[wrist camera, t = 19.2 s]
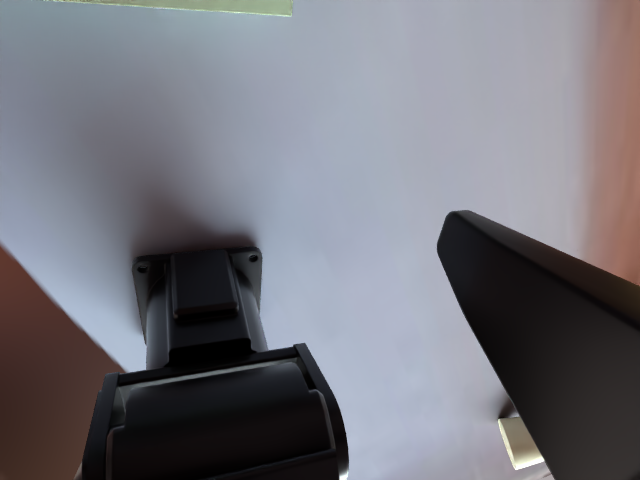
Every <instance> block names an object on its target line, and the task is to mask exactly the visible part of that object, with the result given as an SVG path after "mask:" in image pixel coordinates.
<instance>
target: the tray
mask: <svg viewBox="0 0 640 480" xmlns="http://www.w3.org/2000/svg"><path fill="white" fill-rule="evenodd" d="M45 1H60V2H76V3H91V4H107V5H122V6H138V7H153V8H168V9H184V10H199V11H215V12H230V13H245V14H261V15H276V16H292V5H293V0H45Z"/></svg>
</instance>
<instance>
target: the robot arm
mask: <svg viewBox="0 0 640 480" xmlns="http://www.w3.org/2000/svg"><path fill="white" fill-rule="evenodd" d="M437 253H438V256H439V258H440V261H441V263H442V265H443V268H444V270H445V272H446V275H447V277H448V279H449V282H450V284H451V287H452V289H453V291H454V294H455V296H456V298H457V301H458V303H459V305H460V308H461V310H462V312H463V314H464V316H465V318H466V320H467V322H468V324H469V325H470V327H471V329H472V331H473V333H474V335H475V336H476V338H477V340H478V342H479V344H480V345H481V347H482V349H483V351H484V353H485V354H486V356H487V358H488V360H489V362H490V363H491V365H492V367H493V369H494V371H495V372H496V374H497V376H498V378H499V380H500V381H501V383H502V385H503V387H504V389H505V391H506V392H507V394H508V396H509V398H510V400H511V401H512V403H513V405H514V407H515V409H516V410H517V412H518V414H519V416H520V418H521V419H522V421H523V423H524V425H525V427H526V428H527V430H528V432H529V434H530V436H531V438H532V439H533V441H534V443H535V445H536V447H537V448H538V450H539V452H540V454H541V456H542V457H543V459H544V461H545V463H546V465H547V466H548V468H549V470H550V472H551V474H552V475H553V477H554V479H555V480H640V286H638V285H636V284H634V283H631V282H629V281H627V280H625V279H622V278H620V277H618V276H616V275H613V274H611V273H609V272H607V271H604V270H602V269H600V268H598V267H595V266H593V265H591V264H589V263H586V262H584V261H582V260H580V259H577V258H575V257H573V256H571V255H568V254H566V253H564V252H562V251H559V250H557V249H555V248H553V247H550V246H548V245H546V244H544V243H541V242H539V241H537V240H535V239H532V238H530V237H528V236H526V235H523V234H521V233H519V232H517V231H514V230H512V229H510V228H508V227H505V226H503V225H501V224H499V223H496V222H494V221H492V220H490V219H487V218H485V217H483V216H481V215H478V214H476V213H474V212H472V211H469V210H462V211H452V212H450V213H449V214H448V215H447V216H446V218H445V221H444V224H443V227H442V230H441V233H440V236H439V239H438V242H437ZM251 255H256V256H255V257H252V258H250V256H251ZM141 265H145V266H147V267H145V268H141V267H139V266H141ZM132 272H133V278H134V284H135V289H136V295H137V301H138V306H139V312H140V317H141V323H142V329H143V334H144V340H145V344H146V346H147V356H146V370H143V371H137V372H130V373H124V374H120V372H116V373H109V374H106V375H105V378H104V382H103V387H102V390H101V391H99V392H98V396H97V400H96V404H95V408H94V413H93V417H92V421H91V425H90V429H89V434H88V438H87V442H86V446H85V450H84V455H83V459H82V462H81V464H80V466H79V469H78V471H77V473H76V475H75V477H74V480H346V478H347V476H348V470H349V455H348V444H347V437H346V432H345V427H344V422H343V419H342V415H341V412H340V409H339V406H338V403H337V401H336V398H335V396H334V394H333V392H332V390H331V389H330V387H329V385H328V383H327V382H326V380H325V378H324V376H323V374H322V373H321V371H320V369H319V367H318V365H317V364H316V362H315V360H314V358H313V356H312V355H311V353H310V351H309V349H308V347H307V346H306V344H305V343H301V344H294V345H293V347H288V348H282V349H276V350H269V351H268V347H267V343H266V339H265V335H264V331H263V327H262V323H261V319H260V295H261V274H262V254H261V251H260V249H259V248H257V247H242V248H230V249H219V250H208V251H196V252H185V253H174V254H162V255H151V256H141V257H137V258H136V259H134V261H133V263H132Z"/></svg>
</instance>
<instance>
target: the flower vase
mask: <svg viewBox="0 0 640 480" xmlns="http://www.w3.org/2000/svg"><path fill="white" fill-rule="evenodd" d="M498 422H499V427H500V430H501V434H502V437H503V440H504V443H505V446H506V449H507V452H508V454H509V457H510V460H511V462H512V464H513V466H514V468H515V469H516V470H517V469H520V468H523V467H527V466H530V465H533V464H536V463H539V462H542V461H544V459H543V457H542V456H541V454H540V452H539V450H538V448H537V447H536V445H535V443H534V441H533V439H532V438H531V436H530V434H529V432H528V430H527V428H526V427H525V425H524V423H523V421H522V419H521V418H520V417H513V418H502V419H498Z"/></svg>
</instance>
